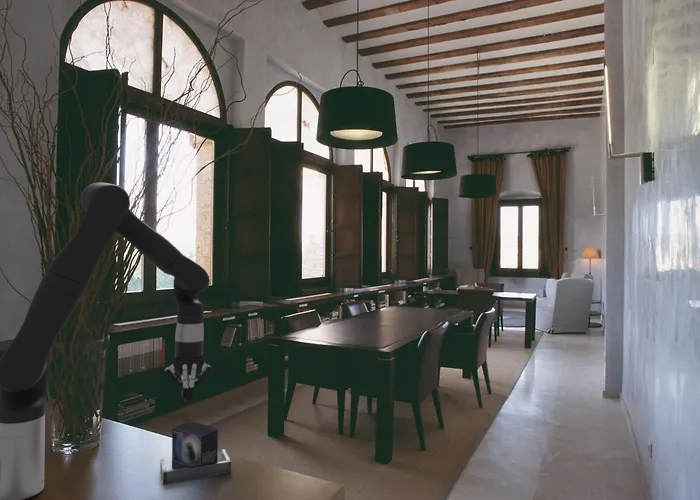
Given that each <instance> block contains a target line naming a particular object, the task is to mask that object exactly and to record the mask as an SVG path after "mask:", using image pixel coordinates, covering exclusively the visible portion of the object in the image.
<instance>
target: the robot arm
mask: <svg viewBox="0 0 700 500" xmlns="http://www.w3.org/2000/svg"><path fill="white" fill-rule="evenodd" d="M80 204H81V207H82V209H83V210H84V212H85V214H84V216H83V219H82V220H81V223H80V225H79V227H78V229H77V231H76V233H75V234H74V235H73V236H72V238H71V239H70V240H69V241H68V242H67V243H66V245H64V246H63V248H62V249H61V250H60V251H59V252H58V253H57V254H56V255H55V257H54V258H53V260H52V261H51V262H50V264H49V266H48V268H47V269H46V271H45V273H44V275H43V277H42V279H41V281H40V282H39V284H38V287H37V289H36V291H35V293H34V296H33V298H32V300H31V303H30V305H29V308H28V310H27V313H26V315H25V318H24V320H23V323H22V325H21V326H20V329H19V330H18V332H17V333H16V335H15V337H14V338H13V340H12V342H11V343H10V344H9V346H8V347H7V349H6V351H5V352H4V353H3V355H2V356H1V357H0V500H25V499H26V500H27V499H29V498H32V497H34V496H36V495H37V494H39V493H40V492H42V491H43V489H44V488H45V450H46V449H45V447H46V446H45V440H46V439H45V437H46V435H45V434H46V432H45V431H46V430H45V429H46V427H45V426H46V401H47V390H48V389H47V387H48V382H47V381H48V358H49V355H50V352H51V350H52V347H53V345H54V342H55V340H56V339H57V337H58V336H59V334H60V331H61V330H62V329H63V328H64V326H65V325H66V323H67V322H68V320H69V318H70V317H71V316H72V314H73V313H74V312H75V309H76V308H77V307H78V305H79V303H80V301H81V299H82V298H83V296H84V295H85V294H84V293H85V291H86V290H87V288H88V286H89V284H90V282H91V279H92V278H93V275H94V273H95V271H96V269H97V267H98V265H99V263H100V261H101V259H102V257H103V254H104V252H105V250H106V249H107V247H108V244H109V243H110V241H111V239H112V238H113V236H114V235H115V233H117V234H118V235H120V236H121V237H122V238H124V239H125V241H127V242H128V243H130V244H131V245H132V246H133V247H134V248H135V249H136V250H138V252H140V253H141V254H142V255H143V256H144V257H145V258H146V259H148V261H149V262H150V263H151V264H153V265H154V266H155V267H156V268H158V270H160V271H161V272H163V273H164V274H166V275H168V276H172V277H174V278H173V292H174V296H175V297H174V298H175V302H176V306H177V311H176V312H177V315H176V316H177V317H176V326H175V327H176V328H175V335H174V338H175V339H174V340H175V341H174V359H173V360H172V364H171V365H170V366H168V367H165V368H164V372H165V373H166V375H167V376H168V377H169V379H171V381H172V382H173V383H174V384H175V385H176V387H179V388H181V398H182V400H184V402H191V400H192V399H193V398H194V388H195V386H199V385H200V384H201V383H202V382H203V381H204V379H206V377H207V376H208V375H209V373H210V372H211V371H212V369H213V367H212V366H211V365H209V364H207V363H206V361H205V358H204V337H205V336H204V335H205V330H204V329H205V327H204V312H205V310H204V304H203V302H201V301H199V299H198V296H197V294H200V293H201V294H202V293H203V292H205V291H206V290H207V289H208V288H209V286H210V284H211V283H210V282H211V280H210V276H209V274H208V272H207V271H206V269H204V268H203V267H202V266H201V265H199V264H198V263H197V262H195V261H194V260H192V259H190V258H189V257H188V256H186V255H185V254H183V253H182V252H181V251H180V250H179V249H178V248H177V247H176V246H174V244H172V243H171V241H169V240H168V239H167V238H166V237H164V236H163V235H162V234H160V233H159V232H158V231H156V230H155V229H153V227H151V226H149V225H148V224H147V223H145V222H144V221H142V220H141V219H140V218H139V217H138V216H137V215H136V214H135V213H134V212H133V211H131V209H130V205H131V200H130V196H129V194H128V192H127V191H126V190H125V189H124V188H123V187H121V186H119V185H117V184H113V183H108V182H93V183H91V184H89V185H87V186H86V187H85V188H84V189H83V191H82V192H81V195H80ZM175 370H176V371H177V373H178V374H179V375H180V377H181V380H179V378H178V377H177V376H176V375H175V374H174V373H175V372H176V371H175ZM200 370H201V372H200V373H199V374H198V372H199V371H200ZM196 374H198V375H197V376H196Z"/></svg>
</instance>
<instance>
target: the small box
mask: <svg viewBox="0 0 700 500" xmlns="http://www.w3.org/2000/svg"><path fill="white" fill-rule="evenodd" d="M171 430H172V435H171V438H172V439H171V468H172V469H179V468H185V467H191V466H197V465H203V464H209V463H216V462H219V461H218V460H219V459H218V456H219V455H218V453H219V451H218V450H219V443H218V441H219V440H218V439H219V428H218V427H215V426H210V425H206V424H203V423H199V422H196V421H191V420H189V421H186V422H184V423H183V422H182V423H181V424H179V425H177V426H175V427H172V428H171Z"/></svg>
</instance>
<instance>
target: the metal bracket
mask: <svg viewBox="0 0 700 500" xmlns="http://www.w3.org/2000/svg"><path fill="white" fill-rule="evenodd" d="M220 460H221V461H218V462H216V463H209V464H203V465H197V466H191V467H185V468H179V469H175V468H172V469H169V470H167V467H166V466H167V465H166V462H165V458H160V466H159V467H160V469H159V470H160V476H161V481H162V482H161V483H162V485H163V486H166V485H172V484H178V483H182V482H184V483H185V482H188V481H194V480H200V479H205V478H206V479H207V478H212V477H219V476H223V475H228V474H231V473H232V461H231V458H230V457H229V455H228V453H227V450H226V449H225V448H224V449H221V459H220Z"/></svg>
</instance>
